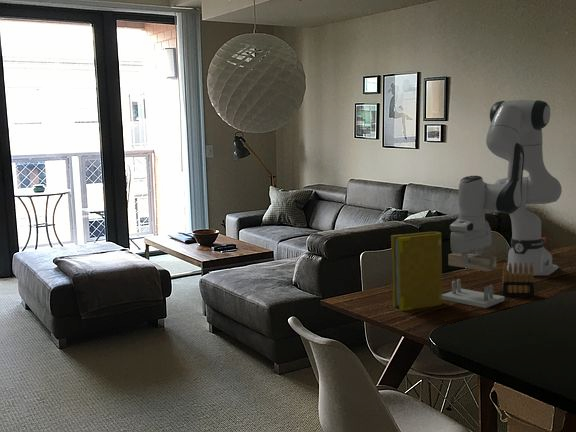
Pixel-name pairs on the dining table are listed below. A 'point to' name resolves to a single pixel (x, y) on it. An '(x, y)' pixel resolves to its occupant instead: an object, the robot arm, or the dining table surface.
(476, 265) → the tan bar
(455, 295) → the peg stand
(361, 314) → the dining table surface
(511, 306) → the dining table surface
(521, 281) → the ammunition clip
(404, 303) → the book
